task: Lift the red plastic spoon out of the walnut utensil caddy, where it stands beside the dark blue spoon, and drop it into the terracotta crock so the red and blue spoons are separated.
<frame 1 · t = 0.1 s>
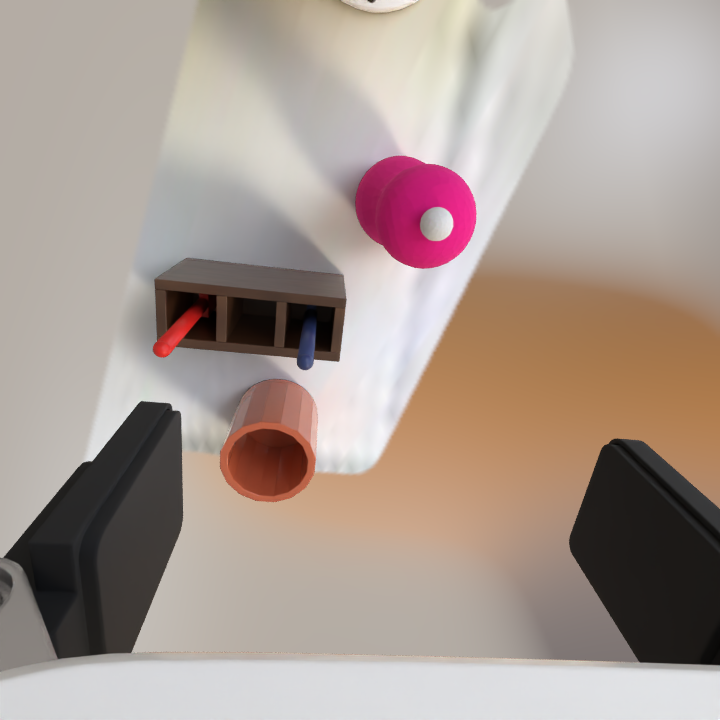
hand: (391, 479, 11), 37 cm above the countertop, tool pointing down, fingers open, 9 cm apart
crock: (277, 414, 51), on the countertop
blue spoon: (312, 301, 46), point 1 cm above the countertop, touching caddy
caddy: (264, 294, 46), on the countertop
pepper mill: (392, 199, 44), on the countertop
red spoon: (214, 291, 45), point 1 cm above the countertop, touching caddy
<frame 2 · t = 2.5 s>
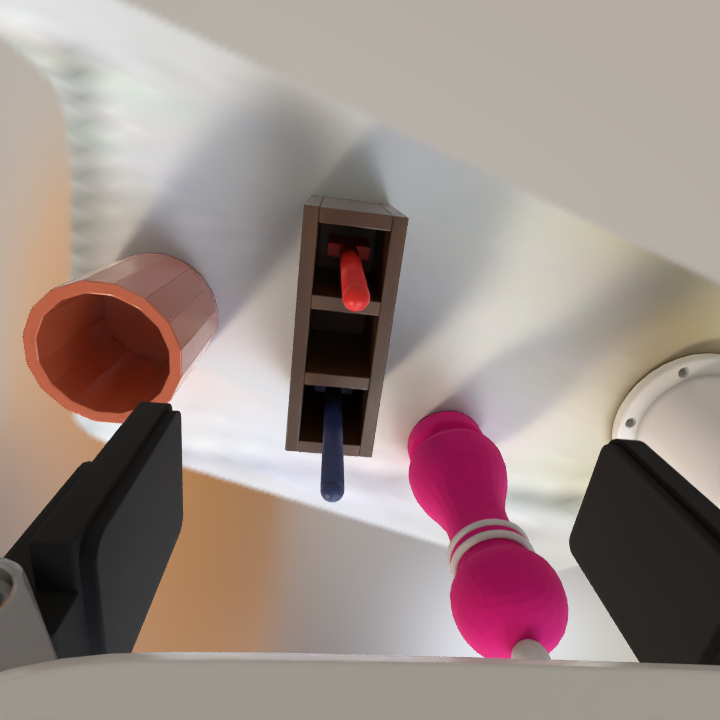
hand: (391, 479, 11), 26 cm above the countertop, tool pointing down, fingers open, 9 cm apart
crock: (159, 311, 35), on the countertop
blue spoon: (333, 365, 36), point 1 cm above the countertop, touching caddy
caddy: (339, 303, 35), on the countertop
pepper mill: (443, 441, 40), on the countertop
red spoon: (347, 242, 33), point 1 cm above the countertop, touching caddy
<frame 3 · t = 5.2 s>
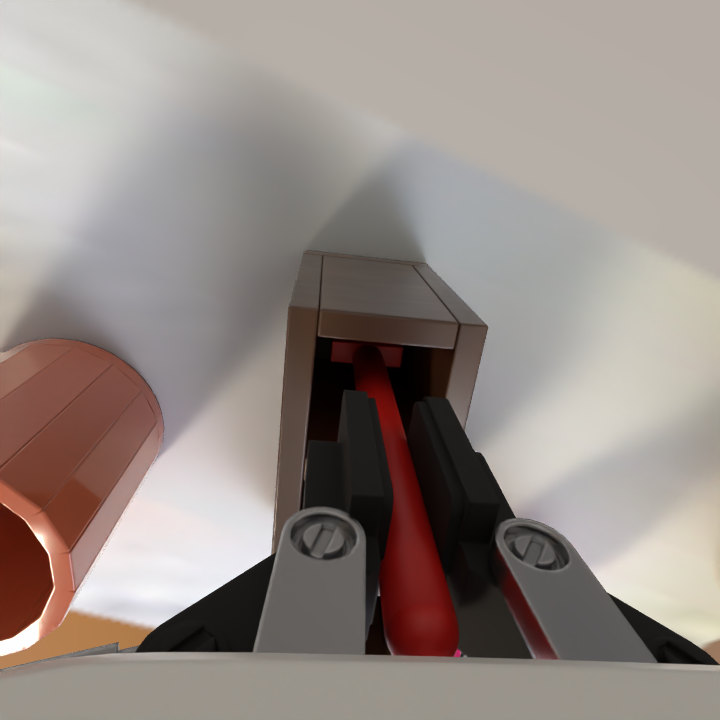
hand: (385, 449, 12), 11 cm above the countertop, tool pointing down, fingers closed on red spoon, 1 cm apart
crock: (73, 420, 23), on the countertop
caddy: (347, 405, 23), on the countertop
red spoon: (360, 321, 21), point 1 cm above the countertop, touching caddy, gripper
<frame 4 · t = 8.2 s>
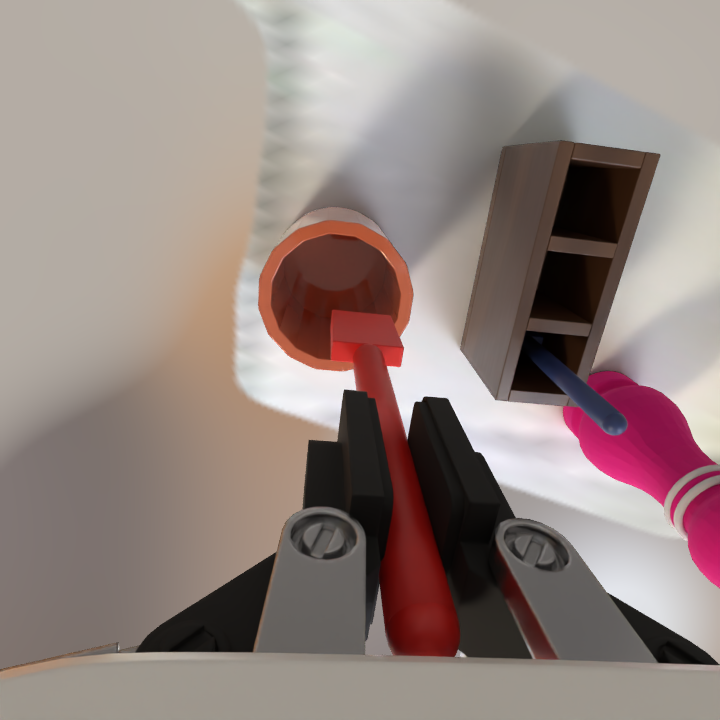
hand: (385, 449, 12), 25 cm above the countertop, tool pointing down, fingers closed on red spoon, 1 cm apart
crock: (335, 267, 34), on the countertop
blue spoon: (504, 322, 36), point 1 cm above the countertop, touching caddy
caddy: (515, 259, 35), on the countertop
pepper mill: (597, 403, 40), on the countertop
red spoon: (360, 320, 21), point 14 cm above the countertop, touching gripper
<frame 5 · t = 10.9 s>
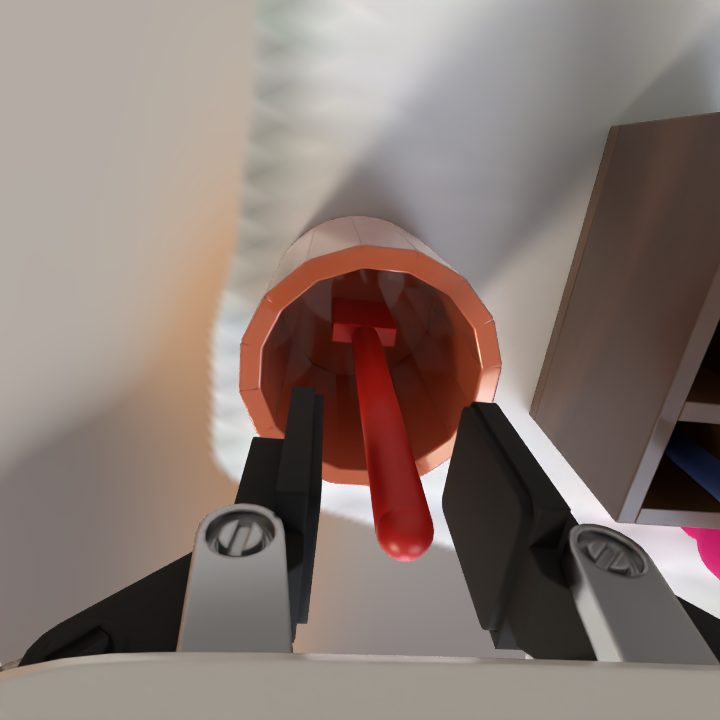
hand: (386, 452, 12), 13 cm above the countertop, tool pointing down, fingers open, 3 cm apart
crock: (356, 303, 24), on the countertop
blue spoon: (596, 380, 25), point 1 cm above the countertop, touching caddy
caddy: (615, 291, 24), on the countertop
pepper mill: (708, 481, 30), on the countertop
red spoon: (358, 307, 23), point 1 cm above the countertop, touching crock
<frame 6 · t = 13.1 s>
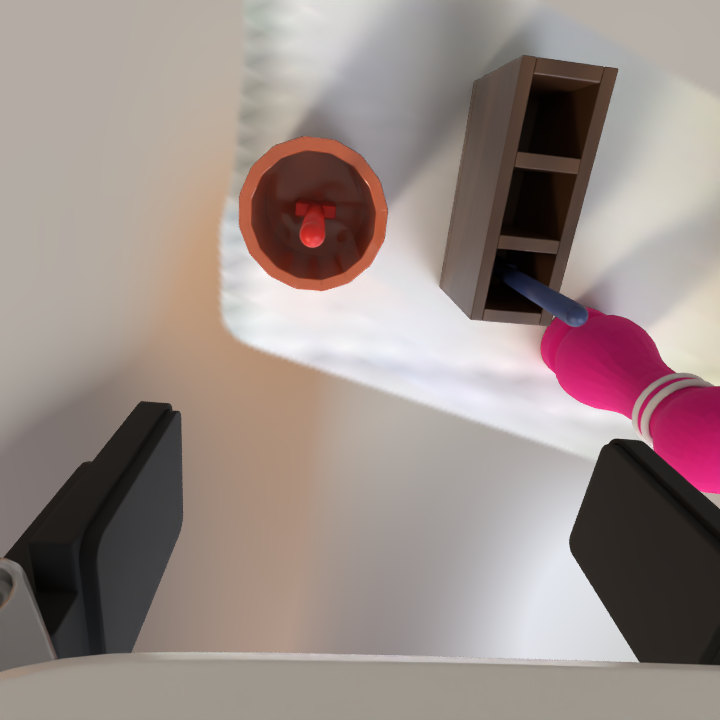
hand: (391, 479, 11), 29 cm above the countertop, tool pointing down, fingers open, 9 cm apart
crock: (315, 205, 36), on the countertop
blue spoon: (481, 258, 37), point 1 cm above the countertop, touching caddy
caddy: (489, 195, 36), on the countertop
pepper mill: (574, 340, 42), on the countertop
red spoon: (316, 206, 35), point 1 cm above the countertop, touching crock
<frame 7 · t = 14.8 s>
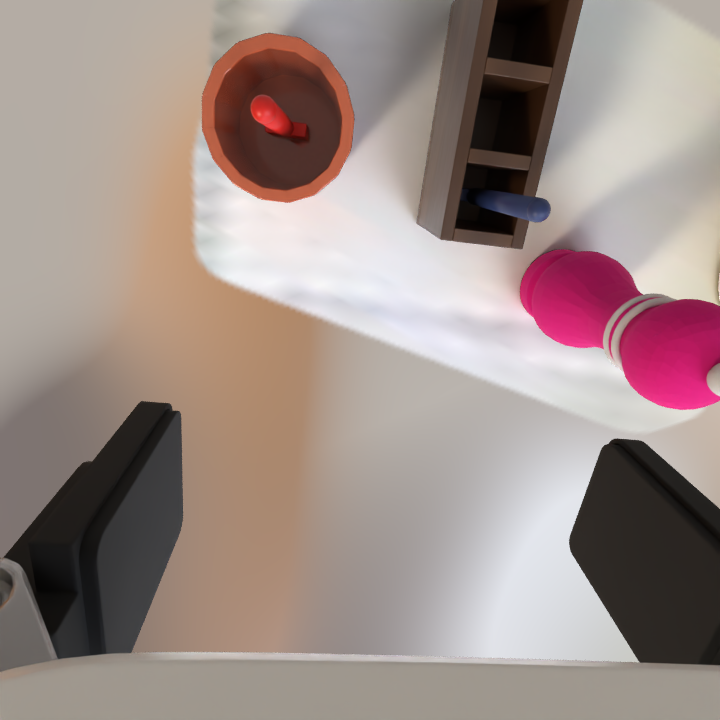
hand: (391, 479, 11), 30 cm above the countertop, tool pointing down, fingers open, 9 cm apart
crock: (290, 132, 35), on the countertop
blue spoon: (458, 192, 37), point 1 cm above the countertop, touching caddy
caddy: (468, 127, 36), on the countertop
pepper mill: (554, 285, 41), on the countertop
red spoon: (290, 131, 34), point 1 cm above the countertop, touching crock
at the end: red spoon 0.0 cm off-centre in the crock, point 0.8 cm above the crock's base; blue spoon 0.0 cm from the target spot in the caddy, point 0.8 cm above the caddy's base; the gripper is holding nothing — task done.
